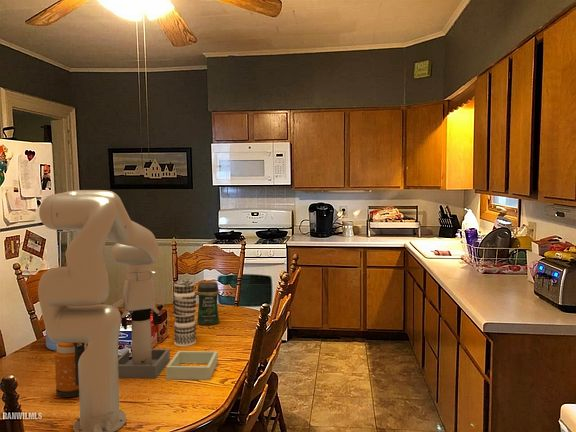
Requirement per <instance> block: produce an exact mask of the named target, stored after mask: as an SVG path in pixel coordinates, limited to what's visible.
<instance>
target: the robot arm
mask: <svg viewBox="0 0 576 432" xmlns="http://www.w3.org/2000/svg"><path fill="white" fill-rule="evenodd" d="M38 212H39V214H38V215H39V219H40V221H41V223H42V225H44V226H45V227H46V228H47V229H49V230H55V231H56V230H58V231H61V230H63V231H64V230H65V231H66V230H67V231H69V230H75V231H77V230H79V232H77V234H76V235H75V236H74V238H73V239H72V240H71V241H70V242H69V244H68V246H67V247H66V250H65V259H66V260H65V261H66V266H63V267H62V266H61V267H60V266H59V267H53V268H49V269H47V270H45V272H43V274H41V277H40V279H39V282H38V287H37V288H38V289H37V293H38V301H39V306H40V311H41V313H42V317H43V323H44V327H45V332H46V331H47V334H48V336H49V338H50V339H51V340H52V341H54V342H57V343H87V344H86V345H87V346H86V347H87V348H86V350H85V351H84V352H83V353H82V354H81V356H80V358H79V361H78V374H79V395H78V400H79V402H78V403H79V418H77V419H76V420H75V421H74V423H73V432H116V431H119V430H120V429H121V428H122V427H123V426H124V425H125V423H126V422H127V414H126V413H125V411H123V410H121V409H120V378H119V372H118V358H119V338H120V332H121V327H122V328H123V329H124V331H125V330H127V329H128V318H127V315H128V314H129V312H134V311H138V310H147V309H151V310H152V311H153V312H152V324H153V325H154V326H157V325H158V323H159V313H160V311H162V309H163V308H164V305H165V304H166V302H167V299H166V298H164V297H162V296H158V295H157V294H156V289H155V283H154V279H153V277H154V276H156V271H152V265H154V264H156V263H157V262H158V260H159V259H160V248H159V244H158V242H157V239H156V237H155V235H154V233H153V232H152V231H151V230H150V229H148V228H146V227H145V226H143V225H141V224H139V223H138V222H135V221H133V220H132V219H131V218H130V216H129V214H128V212H127V210H126V208H125V205H124V203H123V201H122V199H121V197H120V196H119V195H118V194H117V193H115V192H114V191H111V190H108V189H107V190H105V189H103V190H102V189H82V190H81V189H77V190H70V191H69V190H68V191H66V192H60V193H54V194H50V195H47V196H46V197H45V198H44V199H43V200H42V201H41V203H40V206H39V211H38ZM107 240H108V241H110V242H113V243H115V244H114V245H113V247H112V248H111V253H110V254H111V255H110V257H111V259H112V261H113V262H114V263H115V264H116V265H119V266H126V269H127V270H126V271H127V272H126V274H127V277H126V278H127V279H126V280H124V284H123V292H122V293H123V295H122V298H121V299H119V300H118V301H116V302H114V303H113V304H112V305H110V304H104V302H106V300H108V298H109V295H110V281H109V276H108V275H109V274H108V270H107V264H106V263H107V262H106V255H105V247H106V243H107ZM157 301H159V304H158V305H157ZM102 303H103V304H102ZM121 305H123V309H122V310H120V308H119V307H120V306H121Z"/></svg>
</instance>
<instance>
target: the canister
mask: <svg viewBox="0 0 576 432" xmlns="http://www.w3.org/2000/svg"><path fill="white" fill-rule="evenodd" d="M87 347H88V346H87V344H86V343H58V344H57V351H55V352H54V365H55V366H54V367H55V368H54V369H55V371H54V372H55V388H56V389H55V392H56V395H57V396H59V397H65V398H70V397H71V398H72V397H76V396H79V374H78V361H79V358H80V356H81V354H82V353H83V352H84V351H85V350H86V348H87Z"/></svg>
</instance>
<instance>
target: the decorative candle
mask: <svg viewBox="0 0 576 432" xmlns="http://www.w3.org/2000/svg"><path fill="white" fill-rule="evenodd" d="M173 286H174V292H173V297H172V301H173V302H172V305H174V306H173V308H172V309H173V311H172V312H173V315H174V319H175V320H174V325H173V328H174V330H173V332H174V334H173V337H174V338H173V341H174V342H173V343H174V345H175V346H179V347H188V346H192V345H195V344H196V343H197V332H196V331H197V328H196V327H197V324H196V319H195V317H196V315H195V314H196V313H197V310H196V309H195V308H196V307H197V304H196V303H197V301H196V300H195V299H196V298H197V294H196V293H197V292H195V282H194V281H193V280H191V279H190V278H189V279H187V278H186V279H185V278H182V279H178V280H177V281H176V282H175V283H174V284H173Z"/></svg>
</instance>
